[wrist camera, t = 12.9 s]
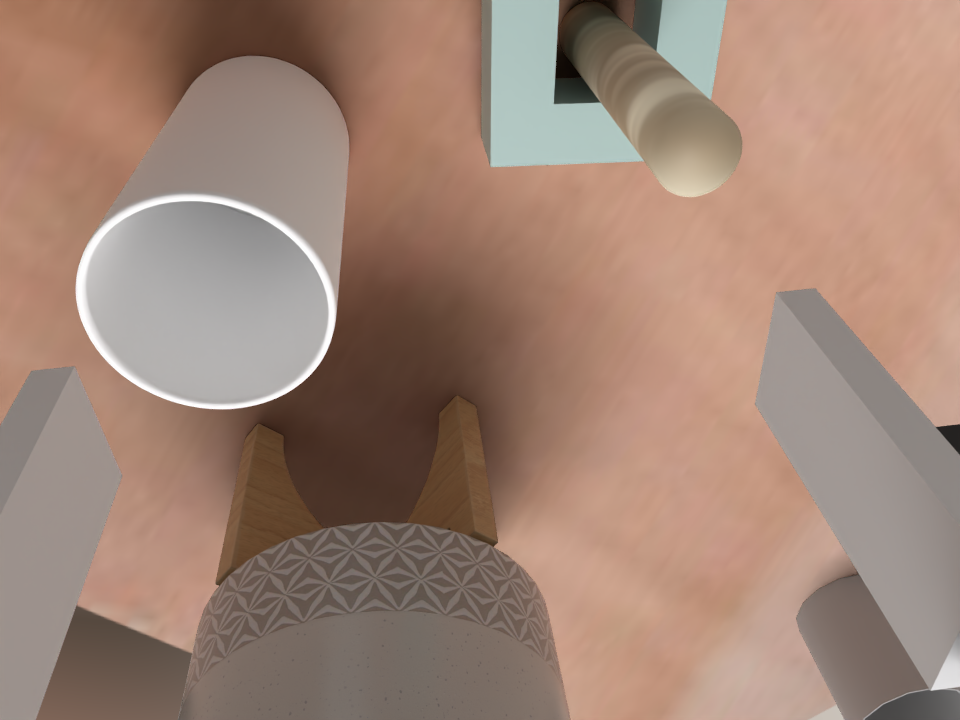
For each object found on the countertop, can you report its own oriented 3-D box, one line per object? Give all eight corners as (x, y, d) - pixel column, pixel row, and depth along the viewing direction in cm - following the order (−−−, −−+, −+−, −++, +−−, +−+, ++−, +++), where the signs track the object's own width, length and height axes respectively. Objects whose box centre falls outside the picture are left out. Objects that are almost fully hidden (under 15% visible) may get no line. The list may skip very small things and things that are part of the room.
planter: (407, 619, 61) (423, 1055, 40) (176, 522, 53) (42, 1003, 32) (576, 464, 54) (705, 896, 33) (337, 324, 46) (304, 777, 25)
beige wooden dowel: (560, 2, 37) (659, 111, 24) (620, 0, 38) (750, 108, 24) (557, 64, 39) (648, 198, 26) (614, 63, 39) (733, 195, 26)
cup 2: (875, 638, 69) (942, 751, 61) (784, 643, 68) (840, 758, 60) (912, 572, 64) (990, 684, 56) (815, 575, 63) (879, 690, 55)
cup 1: (217, 19, 36) (127, 143, 23) (379, 113, 39) (380, 269, 26) (150, 170, 40) (39, 352, 27) (304, 245, 43) (272, 441, 30)
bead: (481, -90, 35) (492, -79, 32) (707, -93, 36) (740, -82, 32) (481, 137, 41) (490, 167, 37) (675, 130, 41) (701, 159, 38)
